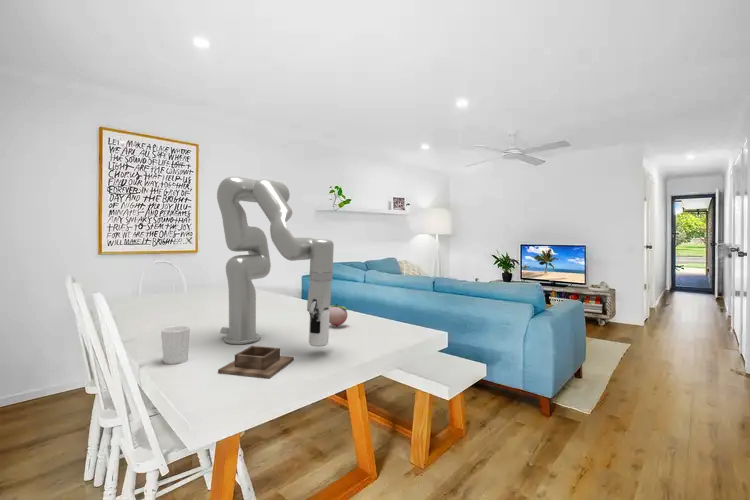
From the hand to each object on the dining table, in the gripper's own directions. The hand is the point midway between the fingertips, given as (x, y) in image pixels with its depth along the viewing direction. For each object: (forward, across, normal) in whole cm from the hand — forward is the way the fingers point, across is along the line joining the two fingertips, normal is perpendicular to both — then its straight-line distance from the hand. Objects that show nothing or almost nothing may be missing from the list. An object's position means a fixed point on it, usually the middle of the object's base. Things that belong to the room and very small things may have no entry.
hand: (319, 329), depth 130 cm
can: (+5, 0, 0) cm, 5 cm away
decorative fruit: (+9, -37, -6) cm, 38 cm away
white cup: (+9, +18, -40) cm, 45 cm away
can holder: (+8, +16, -13) cm, 22 cm away
